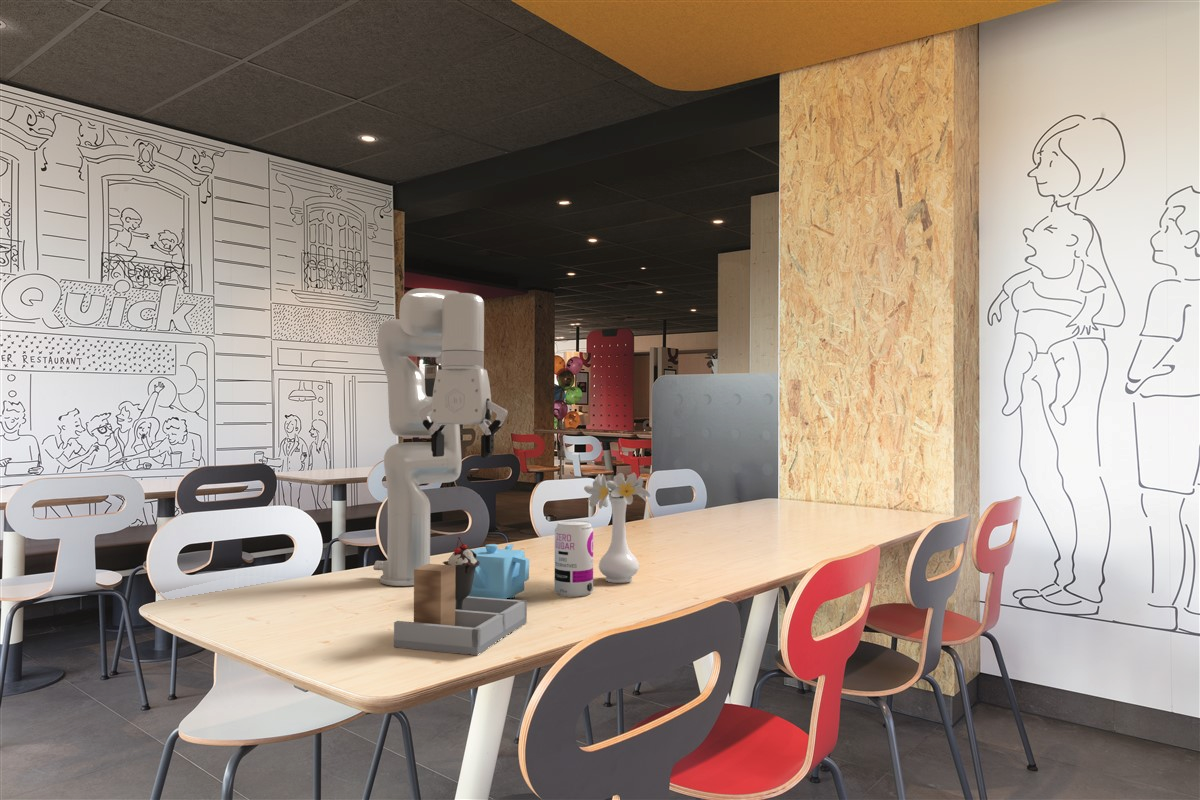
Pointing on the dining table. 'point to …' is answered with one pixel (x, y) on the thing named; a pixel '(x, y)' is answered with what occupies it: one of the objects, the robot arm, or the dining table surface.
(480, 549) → the teapot
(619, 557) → the flower vase
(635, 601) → the dining table surface
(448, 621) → the walnut block
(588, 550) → the soda can
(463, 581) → the sundae
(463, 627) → the grey divided tray
